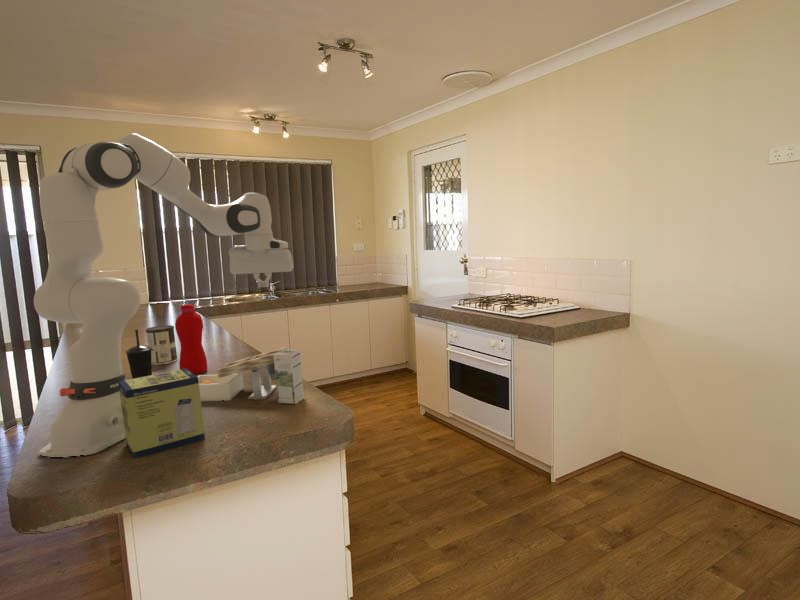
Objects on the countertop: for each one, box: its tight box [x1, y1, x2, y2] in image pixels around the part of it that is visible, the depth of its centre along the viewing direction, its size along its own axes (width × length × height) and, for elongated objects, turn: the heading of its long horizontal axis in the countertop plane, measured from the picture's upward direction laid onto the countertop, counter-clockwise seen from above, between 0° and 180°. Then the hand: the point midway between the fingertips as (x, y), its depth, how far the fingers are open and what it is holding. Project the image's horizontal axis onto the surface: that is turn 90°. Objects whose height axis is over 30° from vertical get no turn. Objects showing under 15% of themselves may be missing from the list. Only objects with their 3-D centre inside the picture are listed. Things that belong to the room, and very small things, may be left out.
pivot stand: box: [248, 365, 277, 400], centre depth 151 cm, size 12×5×10 cm, turn 177°
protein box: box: [118, 369, 206, 459], centre depth 116 cm, size 10×16×16 cm
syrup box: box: [274, 349, 305, 405], centre depth 141 cm, size 6×6×14 cm
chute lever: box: [215, 346, 288, 382], centre depth 154 cm, size 20×14×8 cm
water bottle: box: [174, 303, 210, 375], centre depth 180 cm, size 9×11×25 cm
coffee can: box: [145, 324, 179, 366], centre depth 200 cm, size 10×10×14 cm
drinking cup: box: [125, 329, 153, 379], centre depth 160 cm, size 8×8×20 cm
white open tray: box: [196, 372, 245, 402], centre depth 152 cm, size 11×14×5 cm
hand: (263, 286), depth 162 cm, fingers closed
